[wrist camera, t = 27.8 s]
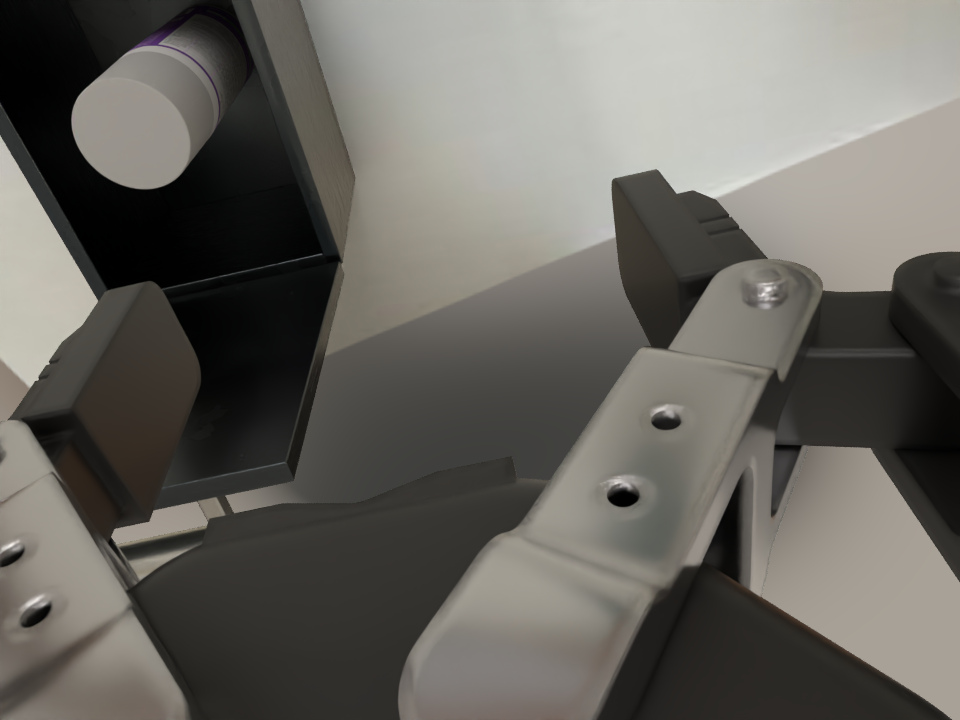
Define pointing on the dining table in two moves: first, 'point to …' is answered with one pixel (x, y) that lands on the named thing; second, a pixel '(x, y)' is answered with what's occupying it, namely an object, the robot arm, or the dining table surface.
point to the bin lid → (244, 395)
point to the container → (163, 98)
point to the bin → (212, 172)
